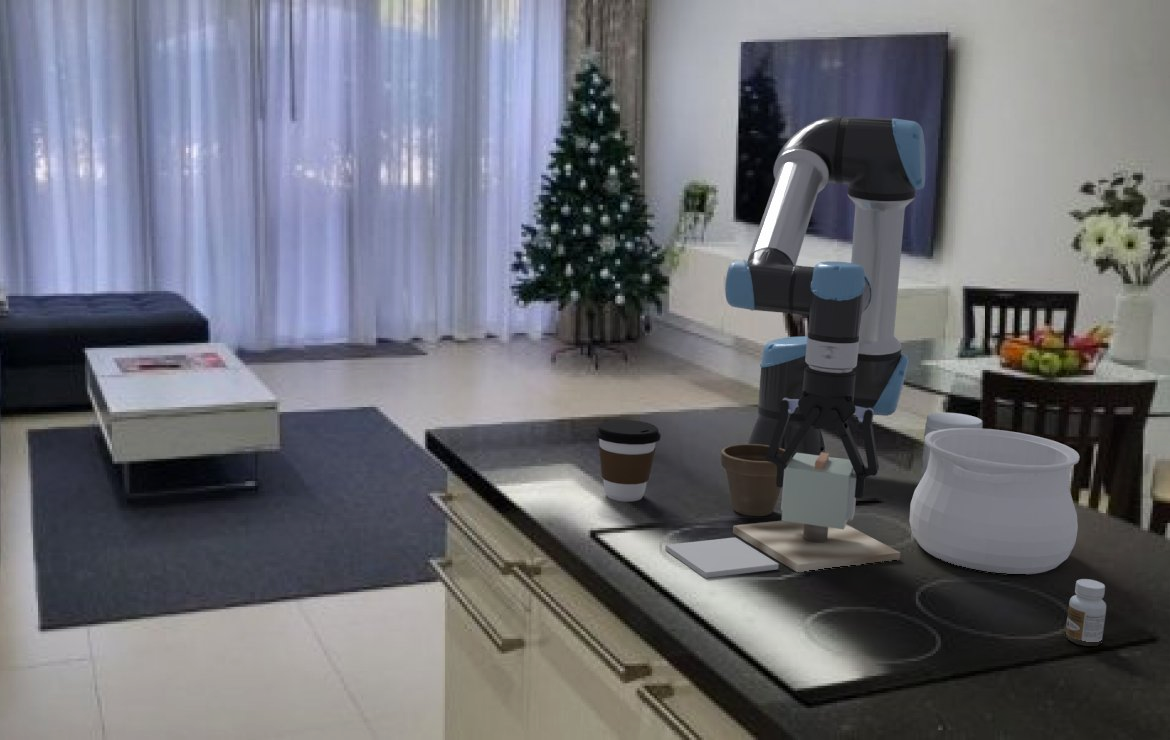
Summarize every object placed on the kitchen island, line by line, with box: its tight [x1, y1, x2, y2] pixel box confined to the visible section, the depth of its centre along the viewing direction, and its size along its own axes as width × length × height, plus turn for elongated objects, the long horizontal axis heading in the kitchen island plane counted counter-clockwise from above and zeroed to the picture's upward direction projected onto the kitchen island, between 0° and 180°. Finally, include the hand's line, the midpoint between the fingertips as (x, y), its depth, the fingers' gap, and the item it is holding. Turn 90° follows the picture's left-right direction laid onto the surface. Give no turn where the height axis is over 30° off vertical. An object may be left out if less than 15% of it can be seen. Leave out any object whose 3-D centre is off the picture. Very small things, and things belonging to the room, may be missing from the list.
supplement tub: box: [919, 412, 983, 482], centre depth 221 cm, size 10×10×15 cm
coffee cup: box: [594, 419, 661, 503], centre depth 214 cm, size 11×11×12 cm
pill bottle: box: [1065, 578, 1107, 642], centre depth 163 cm, size 4×4×8 cm
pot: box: [909, 428, 1081, 575], centre depth 194 cm, size 26×24×17 cm
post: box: [732, 520, 901, 573], centre depth 193 cm, size 18×18×11 cm
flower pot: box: [720, 443, 792, 517], centre depth 210 cm, size 12×11×10 cm
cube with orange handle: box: [781, 452, 856, 530], centre depth 193 cm, size 9×9×9 cm
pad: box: [664, 537, 779, 579], centre depth 187 cm, size 12×12×1 cm
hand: (817, 512), depth 194 cm, fingers closed on cube with orange handle, 9 cm apart
